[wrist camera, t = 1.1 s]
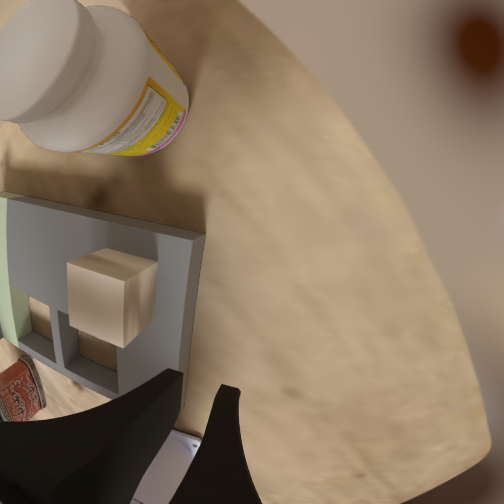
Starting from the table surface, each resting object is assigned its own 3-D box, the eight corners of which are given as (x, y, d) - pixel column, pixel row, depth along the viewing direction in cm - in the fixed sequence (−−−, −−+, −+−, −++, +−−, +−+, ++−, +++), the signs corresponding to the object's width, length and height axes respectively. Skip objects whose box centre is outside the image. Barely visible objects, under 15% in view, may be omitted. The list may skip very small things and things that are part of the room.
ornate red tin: (18, 351, 27) (-37, 389, 17) (36, 361, 26) (-22, 404, 17) (32, 400, 29) (-12, 439, 19) (50, 411, 28) (5, 454, 18)
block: (153, 319, 19) (123, 348, 15) (104, 302, 19) (69, 325, 16) (158, 261, 18) (124, 281, 14) (106, 247, 18) (67, 262, 15)
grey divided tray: (184, 405, 23) (167, 436, 20) (12, 325, 26) (-11, 339, 22) (205, 234, 20) (183, 245, 16) (5, 191, 22) (-25, 195, 18)
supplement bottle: (104, 74, 17) (-15, 9, 5) (192, 60, 17) (126, -56, 5) (100, 162, 19) (-43, 165, 6) (190, 154, 19) (95, 128, 6)
